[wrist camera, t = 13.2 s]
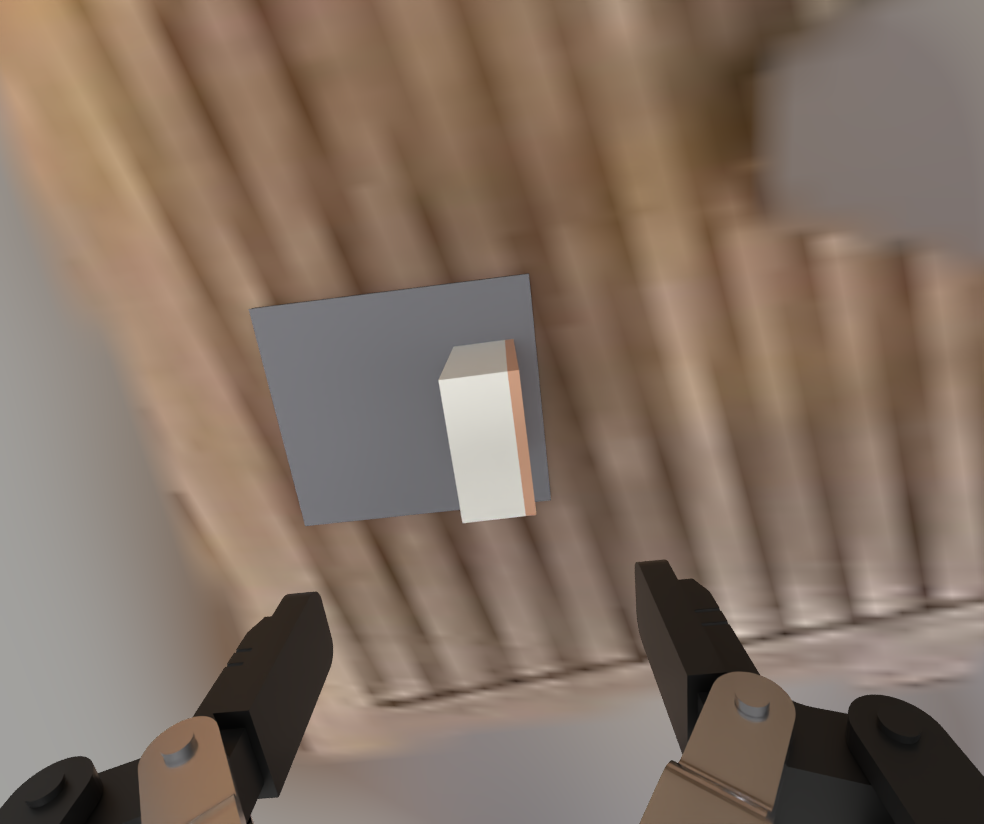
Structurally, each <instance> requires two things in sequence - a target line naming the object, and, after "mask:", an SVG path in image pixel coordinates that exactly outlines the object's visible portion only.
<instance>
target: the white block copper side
mask: <svg viewBox="0 0 984 824" xmlns="http://www.w3.org/2000/svg"><path fill="white" fill-rule="evenodd" d="M438 381H439V387H440V393H441V399H442V405H443V410H444V416H445V422H446V428H447V434H448V440H449V446H450V452H451V458H452V463H453V469H454V475H455V481H456V487H457V493H458V499H459V505H460V511H461V517H462V522H463V523H469V522H478V521H486V520H495V519H504V518H513V517H521V516H530V515H536V507H535V499H534V491H533V482H532V474H531V466H530V457H529V449H528V441H527V433H526V424H525V416H524V408H523V399H522V391H521V383H520V374H519V367H518V362H517V356H516V350H515V345H514V339H508V340H500V341H493V342H485V343H478V344H470V345H462V346H455V347H453V349H452V351H451V353H450V355H449V358H448V360H447V362H446V364H445V367H444V369H443V371H442V373H441V376H440V378H439V380H438Z"/></svg>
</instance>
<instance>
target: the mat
mask: <svg viewBox="0 0 984 824" xmlns="http://www.w3.org/2000/svg"><path fill="white" fill-rule="evenodd" d="M249 312H250V316H251V320H252V324H253V327H254V331H255V335H256V339H257V343H258V347H259V350H260V354H261V358H262V362H263V366H264V370H265V373H266V377H267V381H268V385H269V389H270V393H271V397H272V400H273V404H274V408H275V412H276V416H277V420H278V423H279V427H280V431H281V435H282V439H283V443H284V446H285V450H286V454H287V458H288V462H289V466H290V469H291V473H292V477H293V481H294V485H295V489H296V492H297V496H298V500H299V504H300V508H301V512H302V515H303V519H304V523H305V526H310V525H320V524H329V523H339V522H348V521H358V520H367V519H377V518H386V517H396V516H405V515H415V514H424V513H434V512H443V511H453V510H460V505H459V499H458V493H457V487H456V481H455V475H454V469H453V463H452V458H451V452H450V446H449V440H448V434H447V428H446V422H445V416H444V410H443V405H442V399H441V393H440V387H439V381H438V380H439V378H440V376H441V373H442V371H443V369H444V367H445V364H446V362H447V360H448V358H449V355H450V353H451V351H452V349H453V347H455V346H462V345H470V344H478V343H485V342H493V341H500V340H508V339H514V345H515V350H516V356H517V362H518V367H519V374H520V383H521V391H522V399H523V408H524V416H525V424H526V433H527V441H528V449H529V457H530V466H531V474H532V482H533V491H534V499H535V502H538V501H548V500H551V496H550V486H549V476H548V465H547V455H546V445H545V435H544V425H543V414H542V404H541V394H540V384H539V373H538V363H537V353H536V343H535V332H534V322H533V312H532V302H531V292H530V281H529V274H521V275H513V276H505V277H497V278H489V279H481V280H473V281H465V282H457V283H450V284H442V285H434V286H426V287H418V288H410V289H402V290H394V291H386V292H378V293H370V294H362V295H354V296H346V297H338V298H330V299H322V300H314V301H306V302H299V303H291V304H283V305H275V306H267V307H259V308H252V309H249Z"/></svg>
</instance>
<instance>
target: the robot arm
mask: <svg viewBox="0 0 984 824" xmlns="http://www.w3.org/2000/svg"><path fill="white" fill-rule="evenodd" d="M635 587H636V612H637V622H638V628H639V633H640V637H641V640H642V643H643V646H644V649H645V651H646V654H647V657H648V660H649V663H650V665H651V668H652V671H653V674H654V677H655V679H656V682H657V685H658V688H659V690H660V693H661V696H662V699H663V702H664V704H665V707H666V710H667V713H668V715H669V718H670V721H671V724H672V726H673V729H674V732H675V735H676V738H677V741H678V743H679V746H680V749H681V752H682V754H683V755H682V757H681V759H680V761H679V762H678V763H676V762H675V761H670V762H669V763H668V764H667V765H666V767H665V769H664V771H663V773H662V775H661V777H660V779H659V781H658V784H657V786H656V788H655V790H654V792H653V795H652V797H651V799H650V801H649V803H648V806H647V808H646V810H645V812H644V814H643V817H642V819H641V821H640V824H984V776H983V775H982V774H981V773H980V772H979V771H978V769H977V768H976V767H975V766H974V765H973V763H972V762H971V761H970V760H969V758H968V757H967V756H966V755H965V754H964V753H963V751H962V750H961V749H960V748H959V747H958V746H957V744H956V743H955V742H954V741H953V740H952V738H951V737H950V736H949V735H948V734H947V732H946V731H945V730H944V729H943V728H942V727H941V726H940V724H938V722H937V721H935V720H934V719H933V718H932V717H931V716H929V715H928V714H927V713H925V712H924V711H922V710H921V709H919V708H917V707H915V706H914V705H912V704H909V703H907V702H905V701H902V700H900V699H897V698H893V697H889V696H884V695H865V696H862V697H859V698H857V699H855V700H854V701H853V702H852V703H851V705H850V707H849V710H848V714H845V713H840V712H834V711H830V710H824V709H819V708H814V707H809V706H805V705H802V704H799V703H796V702H794V701H792V700H791V699H790V697H789V696H788V694H787V693H786V692H785V691H784V690H783V689H782V688H781V687H780V686H778V685H777V684H776V683H774V682H773V681H771V680H769V679H767V678H765V677H763V676H761V675H760V674H759V672H758V671H757V669H756V667H755V666H754V664H753V662H752V661H751V659H750V658H749V656H748V654H747V653H746V651H745V649H744V648H743V646H742V644H741V643H740V641H739V639H738V638H737V636H736V634H735V633H734V631H733V629H732V628H731V626H730V624H728V622H727V620H726V618H725V616H724V615H723V613H722V611H720V609H719V606H718V605H717V603H716V601H715V600H714V598H713V596H712V595H711V593H710V592H709V591H708V590H707V589H706V588H704V587H703V586H702V585H700V584H699V583H698V582H696V581H695V580H694V579H682V580H678V579H677V577H676V575H675V574H674V572H673V570H672V568H671V566H670V564H669V562H668V561H667V560H655V561H645V562H636V563H635ZM332 658H333V642H332V637H331V633H330V630H329V626H328V622H327V618H326V614H325V611H324V607H323V603H322V599H321V596H320V595H319V593H318V592H306V593H296V594H287V595H285V596H284V598H283V599H282V601H281V602H280V604H279V606H278V607H277V609H276V611H275V612H274V614H273V615H272V616H271V617H264V618H263V619H262V620H261V621H260V622H259V623H258V624H257V625H255V626H254V627H253V628H252V629H251V630H250V631H249V632H247V634H246V635H245V637H244V639H243V640H242V642H241V643H240V645H239V646H238V648H237V651H236V653H234V654H233V656H232V657H231V659H230V660H229V662H228V663H227V667H225V668H224V669H223V671H222V673H221V674H220V676H219V677H218V679H217V680H216V682H215V683H214V685H213V686H212V688H211V690H210V691H209V693H208V694H207V696H206V697H205V699H204V700H203V702H202V703H201V705H200V706H199V708H198V710H197V711H196V713H195V714H194V716H193V717H192V718H188V719H186V720H183V721H181V722H179V723H176V724H175V725H173V726H171V727H169V728H168V729H166V730H165V731H164V732H162V733H161V734H160V735H159V736H157V737H156V738H155V739H154V740H153V741H152V742H151V743H150V745H149V746H148V747H147V748H146V750H145V751H144V753H143V755H142V756H141V758H140V759H137V760H134V761H132V762H129V763H126V764H123V765H120V766H118V767H114V768H112V769H109V770H106V771H103V772H100V773H97V771H96V769H95V767H94V765H93V763H92V761H91V760H90V759H89V758H87V757H82V756H78V757H71V758H67V759H64V760H61V761H58V762H56V763H54V764H52V765H50V766H48V767H46V768H44V769H43V770H41V771H39V772H38V773H36V774H35V775H34V776H32V777H31V778H29V779H28V780H27V781H26V782H25V783H23V784H22V785H21V786H20V787H19V788H18V789H17V790H16V791H15V792H14V793H13V794H12V795H11V796H10V798H9V799H8V800H7V801H6V802H5V803H4V805H3V806H2V807H1V808H0V824H254V822H253V819H252V816H251V812H252V810H253V808H254V806H255V804H256V801H257V799H262V798H275V797H279V795H280V792H281V790H282V788H283V785H284V783H285V780H286V778H287V775H288V772H289V770H290V768H291V765H292V763H293V760H294V758H295V755H296V753H297V750H298V748H299V745H300V742H301V740H302V737H303V735H304V732H305V730H306V727H307V725H308V722H309V720H310V717H311V715H312V712H313V710H314V707H315V705H316V702H317V700H318V697H319V695H320V692H321V690H322V687H323V685H324V682H325V680H326V677H327V675H328V672H329V670H330V667H331V664H332Z"/></svg>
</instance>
